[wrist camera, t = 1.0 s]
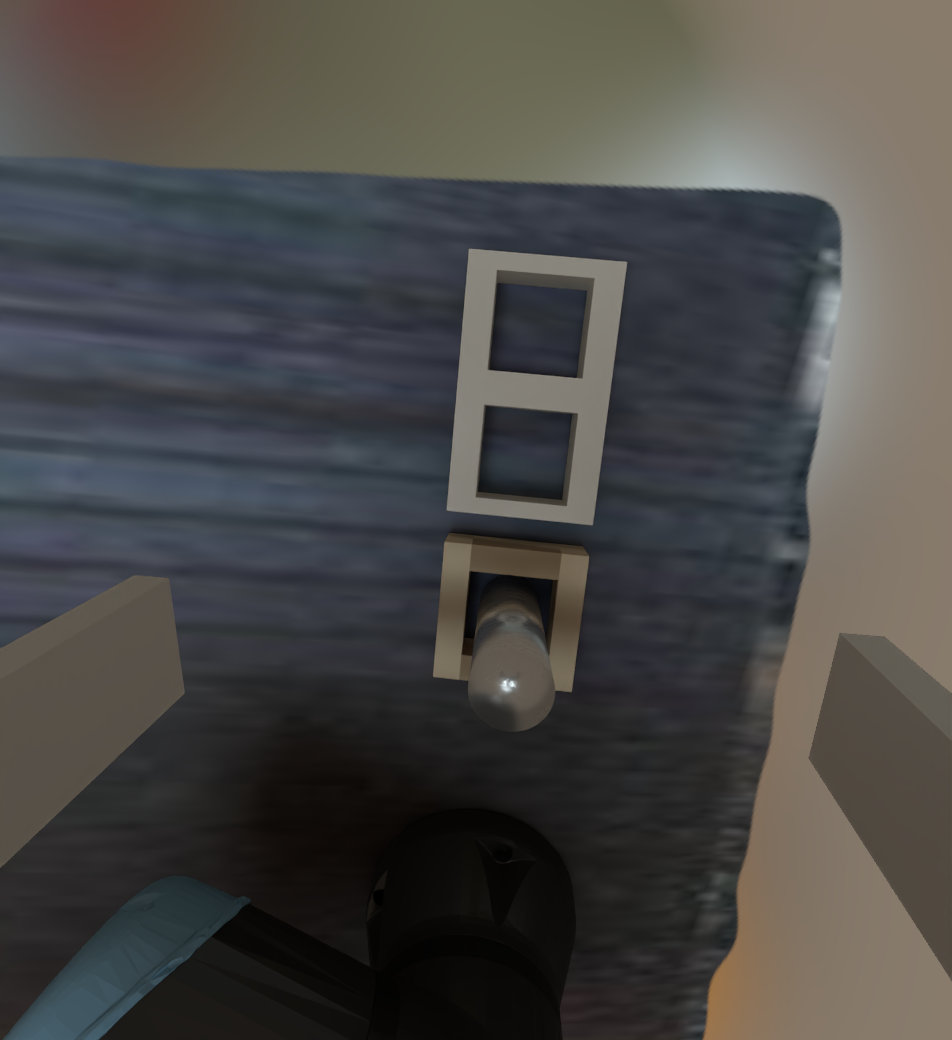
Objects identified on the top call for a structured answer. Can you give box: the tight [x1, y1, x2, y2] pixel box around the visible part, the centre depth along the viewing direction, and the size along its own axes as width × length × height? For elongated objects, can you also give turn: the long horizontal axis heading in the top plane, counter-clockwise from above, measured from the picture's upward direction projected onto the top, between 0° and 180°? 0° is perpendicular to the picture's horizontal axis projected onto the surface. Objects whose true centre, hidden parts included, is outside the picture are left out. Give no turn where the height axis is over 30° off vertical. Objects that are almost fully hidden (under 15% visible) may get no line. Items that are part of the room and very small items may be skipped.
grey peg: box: [468, 575, 555, 732], centre depth 32 cm, size 4×4×13 cm
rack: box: [447, 249, 627, 525], centre depth 35 cm, size 15×9×3 cm, turn 175°
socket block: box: [433, 533, 589, 692], centre depth 37 cm, size 9×9×3 cm
